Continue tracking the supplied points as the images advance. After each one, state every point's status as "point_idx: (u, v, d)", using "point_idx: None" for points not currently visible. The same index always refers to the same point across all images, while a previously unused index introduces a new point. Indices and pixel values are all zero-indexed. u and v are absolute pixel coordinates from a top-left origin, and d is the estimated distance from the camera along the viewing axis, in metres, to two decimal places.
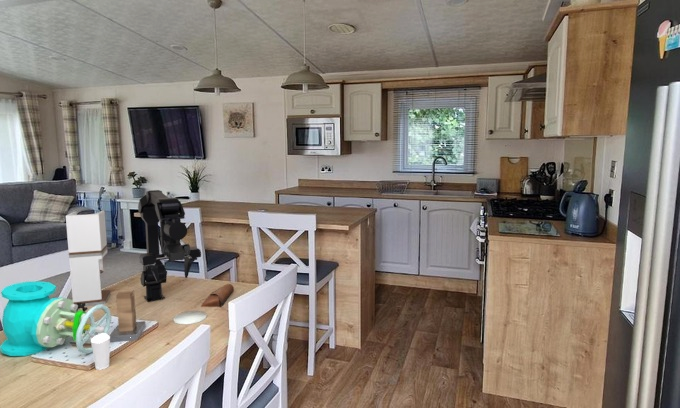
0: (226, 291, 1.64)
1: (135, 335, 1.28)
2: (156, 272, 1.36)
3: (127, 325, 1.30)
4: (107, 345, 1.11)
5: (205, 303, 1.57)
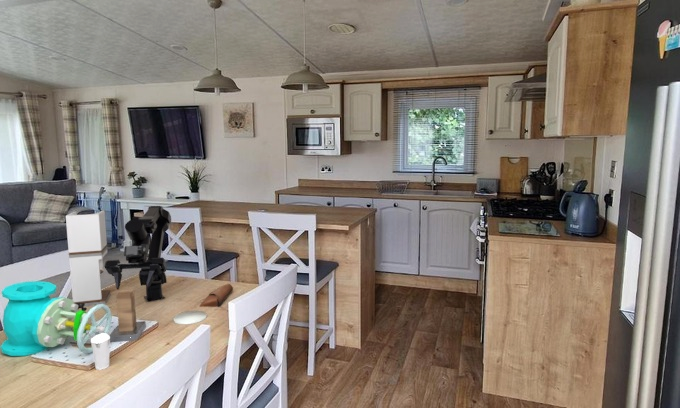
0: (225, 291, 1.64)
1: (135, 335, 1.28)
2: (116, 276, 1.38)
3: (127, 325, 1.30)
4: (107, 345, 1.11)
5: (203, 303, 1.57)
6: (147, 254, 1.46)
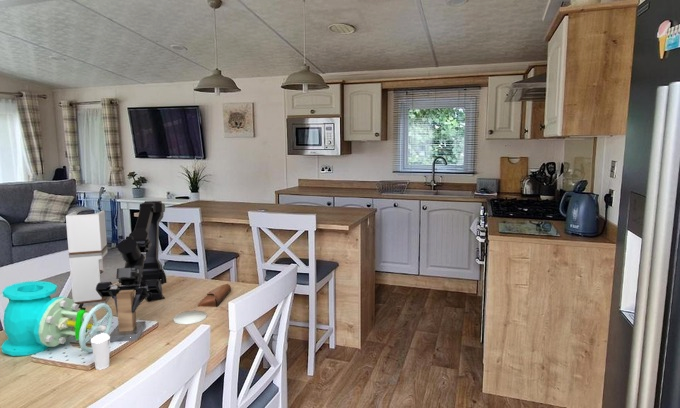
0: (223, 291, 1.64)
1: (135, 335, 1.28)
2: None
3: (127, 325, 1.30)
4: (107, 345, 1.11)
5: (201, 303, 1.57)
6: (141, 275, 1.39)
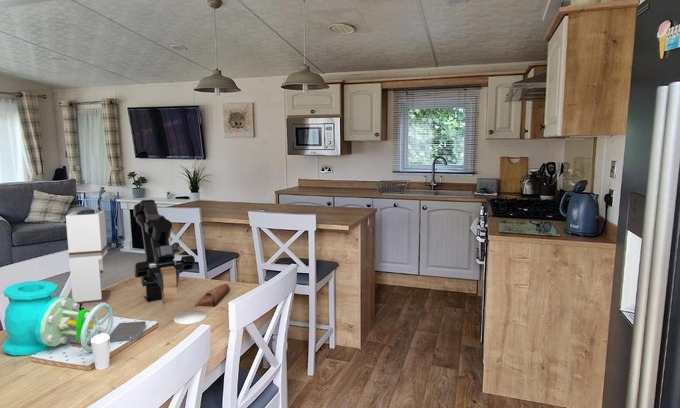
0: (221, 291, 1.64)
1: (135, 335, 1.28)
2: (159, 277, 1.36)
3: (172, 299, 1.37)
4: (107, 345, 1.11)
5: (199, 303, 1.57)
6: None
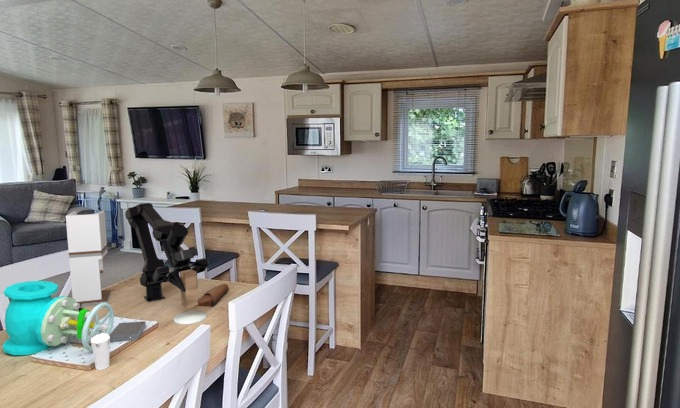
0: (220, 291, 1.65)
1: (135, 335, 1.28)
2: (180, 280, 1.42)
3: (193, 301, 1.43)
4: (107, 345, 1.11)
5: (198, 303, 1.57)
6: None
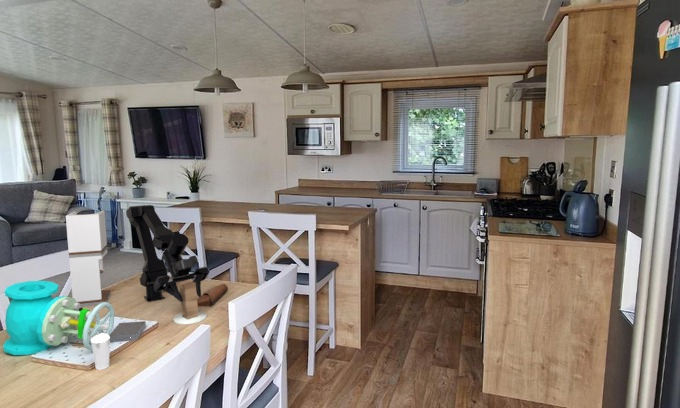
0: (218, 291, 1.65)
1: (135, 335, 1.28)
2: (177, 290, 1.41)
3: (194, 312, 1.44)
4: (107, 345, 1.11)
5: None
6: None
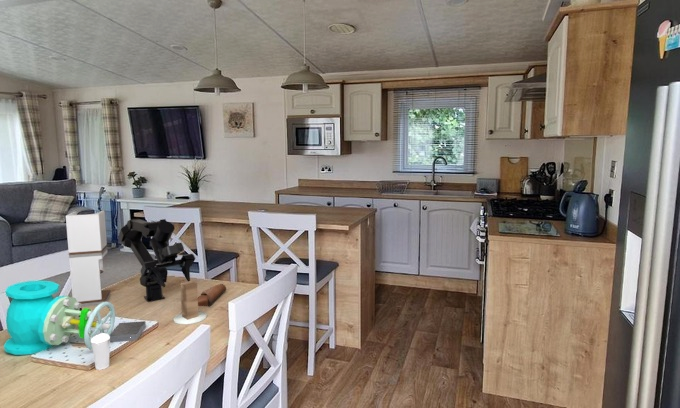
0: (217, 291, 1.65)
1: (135, 335, 1.28)
2: (160, 276, 1.47)
3: (194, 312, 1.44)
4: (107, 345, 1.11)
5: None
6: None
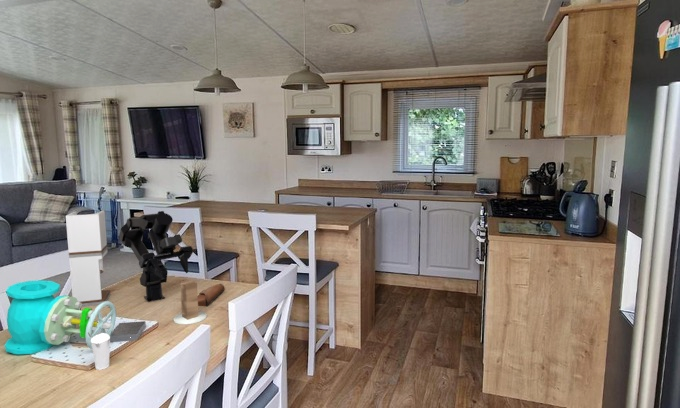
0: (215, 291, 1.65)
1: (135, 335, 1.28)
2: (158, 267, 1.47)
3: (194, 312, 1.44)
4: (107, 345, 1.11)
5: None
6: None
